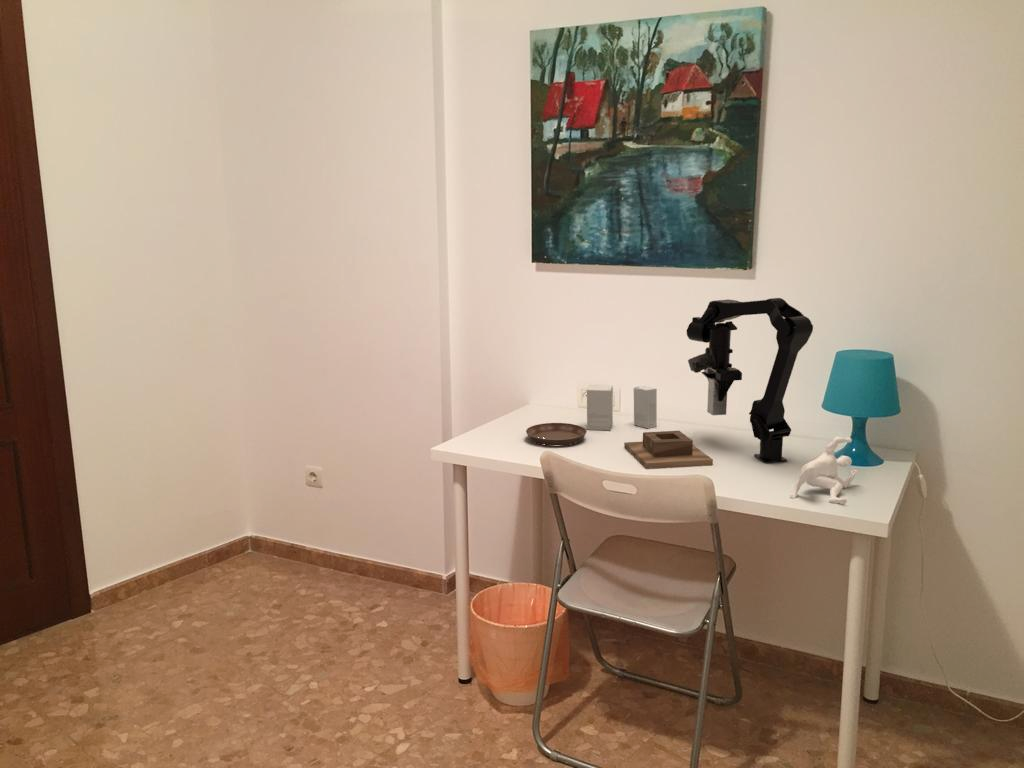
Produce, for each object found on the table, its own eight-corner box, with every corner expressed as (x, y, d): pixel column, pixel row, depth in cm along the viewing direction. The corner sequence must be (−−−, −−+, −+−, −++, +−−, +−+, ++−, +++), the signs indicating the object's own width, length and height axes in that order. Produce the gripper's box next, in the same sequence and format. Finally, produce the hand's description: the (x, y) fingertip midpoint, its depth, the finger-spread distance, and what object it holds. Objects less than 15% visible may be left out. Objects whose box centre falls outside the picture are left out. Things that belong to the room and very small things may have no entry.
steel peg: (726, 414, 236) (727, 379, 234) (712, 415, 235) (714, 380, 233) (720, 411, 240) (722, 377, 238) (707, 411, 239) (708, 377, 237)
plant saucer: (573, 451, 233) (574, 441, 232) (516, 444, 240) (516, 434, 240) (595, 436, 249) (595, 426, 248) (540, 430, 256) (540, 420, 255)
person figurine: (840, 462, 185) (850, 429, 199) (781, 466, 191) (795, 434, 206) (851, 514, 188) (860, 478, 202) (793, 516, 194) (806, 481, 209)
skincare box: (657, 426, 258) (658, 388, 255) (647, 429, 255) (648, 390, 252) (642, 422, 262) (643, 385, 260) (632, 425, 259) (633, 387, 257)
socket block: (712, 465, 219) (713, 444, 217) (646, 468, 216) (646, 448, 215) (685, 444, 238) (686, 425, 237) (624, 447, 235) (624, 428, 234)
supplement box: (613, 425, 260) (613, 385, 258) (610, 431, 253) (611, 390, 250) (589, 423, 262) (589, 384, 259) (586, 429, 255) (586, 389, 252)
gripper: (680, 340, 241) (678, 393, 245) (704, 351, 223) (702, 408, 227) (717, 339, 243) (714, 392, 246) (744, 350, 225) (741, 406, 228)
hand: (717, 399), depth 237 cm, fingers closed on steel peg, 4 cm apart
